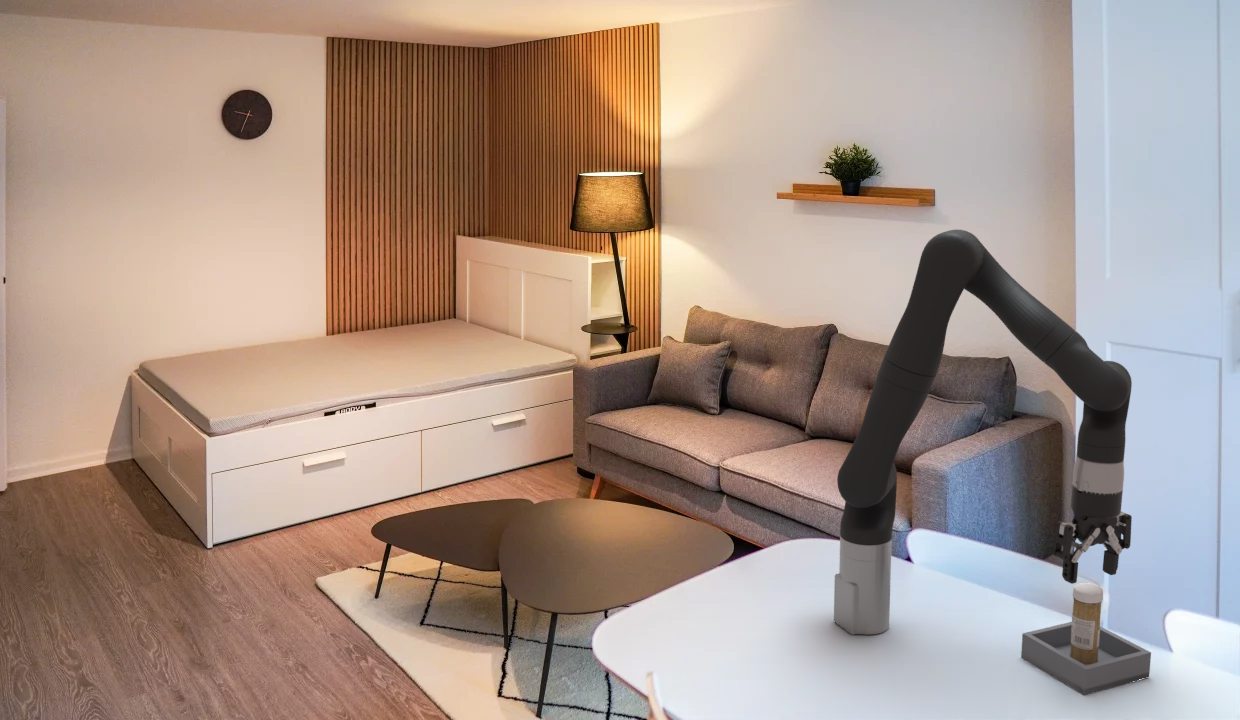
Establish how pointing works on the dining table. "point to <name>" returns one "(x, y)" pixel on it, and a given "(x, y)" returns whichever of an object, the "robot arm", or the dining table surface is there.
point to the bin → (1112, 669)
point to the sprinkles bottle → (1086, 623)
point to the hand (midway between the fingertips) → (1089, 577)
